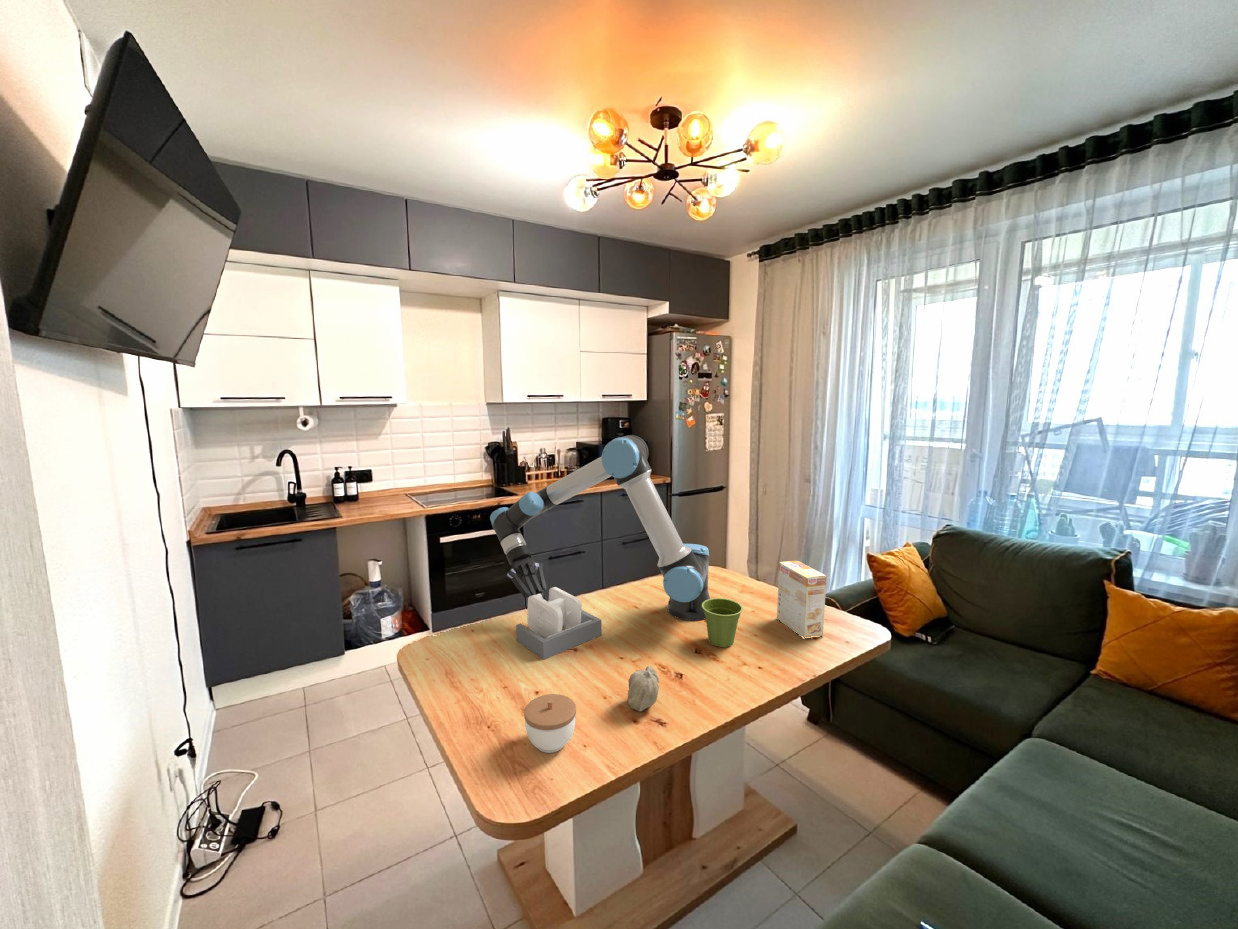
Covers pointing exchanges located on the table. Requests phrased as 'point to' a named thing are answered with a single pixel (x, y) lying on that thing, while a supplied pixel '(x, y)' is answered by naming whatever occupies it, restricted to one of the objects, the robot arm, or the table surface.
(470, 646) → the table surface
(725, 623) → the plant pot
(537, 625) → the cable organizer
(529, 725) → the lidded jar
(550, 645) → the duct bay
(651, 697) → the grey lumpy rounded piece
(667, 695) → the table surface
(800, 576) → the coffeecake box
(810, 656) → the table surface
